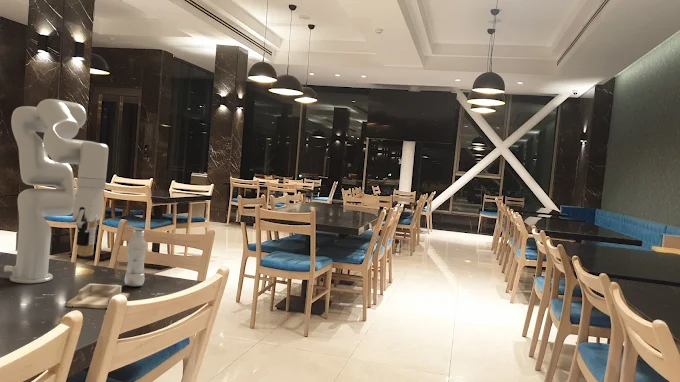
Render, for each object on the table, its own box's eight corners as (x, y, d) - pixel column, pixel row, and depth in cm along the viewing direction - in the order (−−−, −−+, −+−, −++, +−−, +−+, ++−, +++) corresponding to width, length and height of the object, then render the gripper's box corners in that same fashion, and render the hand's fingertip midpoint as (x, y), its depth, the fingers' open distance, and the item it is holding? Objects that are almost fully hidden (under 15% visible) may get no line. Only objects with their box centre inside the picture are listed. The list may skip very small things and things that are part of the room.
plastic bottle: (136, 289, 167) (141, 232, 166) (119, 286, 168) (124, 230, 167) (147, 285, 173) (152, 230, 172) (131, 282, 174) (135, 228, 173)
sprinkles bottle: (74, 253, 143) (78, 209, 143) (90, 252, 147) (94, 209, 146) (79, 256, 140) (83, 211, 140) (96, 255, 144) (100, 211, 143)
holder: (65, 306, 142) (66, 292, 142) (84, 293, 156) (85, 281, 156) (115, 309, 144) (116, 296, 144) (129, 296, 158) (130, 284, 158)
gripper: (90, 181, 151) (85, 238, 151) (65, 183, 134) (59, 247, 135) (114, 183, 151) (109, 240, 152) (93, 186, 135) (87, 250, 136)
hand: (86, 243), depth 144 cm, fingers closed on sprinkles bottle, 4 cm apart
